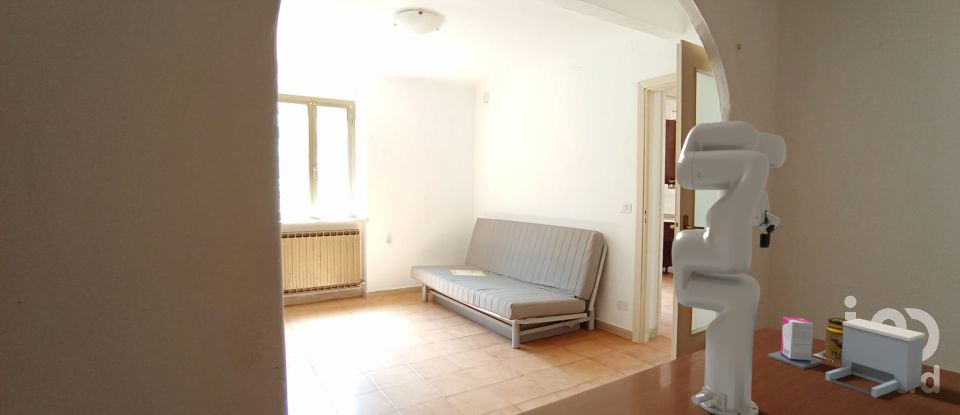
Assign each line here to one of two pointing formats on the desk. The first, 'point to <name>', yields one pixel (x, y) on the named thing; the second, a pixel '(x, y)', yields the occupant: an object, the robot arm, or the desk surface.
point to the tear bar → (850, 387)
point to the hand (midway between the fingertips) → (747, 245)
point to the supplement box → (797, 339)
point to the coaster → (795, 363)
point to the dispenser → (881, 355)
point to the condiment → (833, 340)
